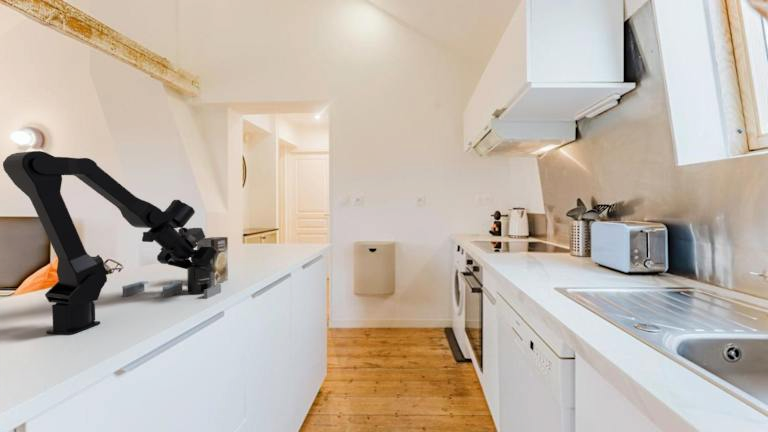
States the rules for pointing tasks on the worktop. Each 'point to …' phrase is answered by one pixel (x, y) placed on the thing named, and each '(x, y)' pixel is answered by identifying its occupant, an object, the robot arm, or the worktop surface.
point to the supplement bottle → (198, 279)
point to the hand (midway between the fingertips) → (203, 270)
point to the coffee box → (217, 257)
